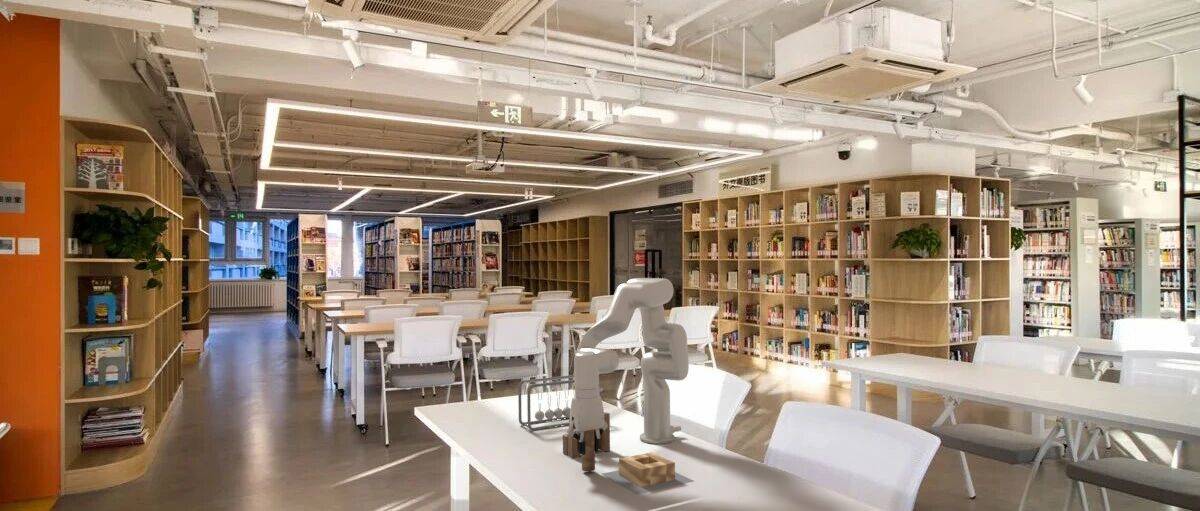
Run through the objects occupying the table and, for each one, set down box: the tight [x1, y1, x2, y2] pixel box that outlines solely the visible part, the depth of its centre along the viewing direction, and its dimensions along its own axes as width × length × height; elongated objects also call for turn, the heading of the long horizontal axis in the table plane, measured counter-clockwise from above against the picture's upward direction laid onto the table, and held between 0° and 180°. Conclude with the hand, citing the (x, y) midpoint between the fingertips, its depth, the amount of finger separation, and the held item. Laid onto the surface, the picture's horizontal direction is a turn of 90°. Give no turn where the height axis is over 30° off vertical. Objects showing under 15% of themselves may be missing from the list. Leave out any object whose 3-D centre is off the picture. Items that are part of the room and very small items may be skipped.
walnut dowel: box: [581, 430, 596, 472], centre depth 204 cm, size 4×4×16 cm
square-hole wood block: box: [618, 452, 676, 487], centre depth 199 cm, size 12×12×5 cm
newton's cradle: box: [517, 374, 575, 431], centre depth 265 cm, size 30×10×18 cm, turn 118°
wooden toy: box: [562, 411, 611, 458], centre depth 226 cm, size 16×7×25 cm, turn 120°
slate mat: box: [601, 469, 694, 495], centre depth 199 cm, size 20×20×1 cm
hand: (588, 451), depth 204 cm, fingers closed on walnut dowel, 4 cm apart
